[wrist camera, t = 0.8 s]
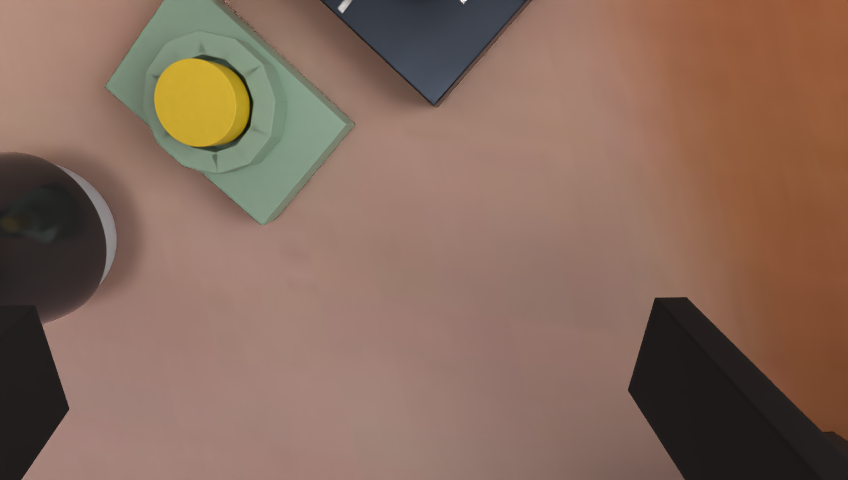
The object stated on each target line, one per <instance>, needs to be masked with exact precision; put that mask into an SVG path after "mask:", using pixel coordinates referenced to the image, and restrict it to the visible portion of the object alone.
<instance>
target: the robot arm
mask: <svg viewBox="0 0 848 480" xmlns="http://www.w3.org/2000/svg"><path fill="white" fill-rule="evenodd" d="M628 391H629V393H630V394H631V396H632V398H633V399H634V401H635V402H636V404H637V405H638V407H639V409H640V410H641V412H642V413H643V415H644V416H645V418H646V419H647V421H648V423H649V424H650V426H651V427H652V429H653V430H654V432H655V434H656V435H657V437H658V438H659V440H660V441H661V443H662V444H663V446H664V448H665V449H666V451H667V452H668V454H669V455H670V457H671V459H672V460H673V462H674V463H675V465H676V466H677V468H678V470H679V471H680V473H681V474H682V476H683V477H684V479H685V480H848V441H846V440H845V439H843V438H842V437H840V436H839V435H837V434H836V433H834V432H822V431H821V430H820V429H819V428H818V427H817V426H816V425H815V424H814V423H813V422H812V421H811V420H809V419H808V418H807V417H806V416H805V415H804V414H803V413H802V412H801V411H800V410H799V409H798V408H797V407H796V406H795V405H794V404H793V403H792V402H791V401H790V400H789V399H788V398H787V397H786V396H785V395H784V394H783V393H782V392H781V391H780V390H779V389H778V388H777V387H776V386H775V385H774V384H773V383H772V382H771V381H770V380H769V379H768V378H767V377H766V376H765V375H764V374H763V373H762V372H761V371H760V370H759V369H758V368H757V367H756V366H755V365H754V364H753V363H752V362H751V361H750V360H749V359H748V358H747V357H746V356H745V355H744V354H743V353H742V352H741V351H740V350H739V349H738V348H737V347H736V346H735V345H734V344H733V343H732V342H731V341H730V340H729V339H728V338H727V337H726V336H725V335H724V334H723V333H722V332H721V331H720V330H719V329H718V328H717V327H716V326H715V325H714V324H713V323H712V322H711V321H710V320H709V319H708V318H707V317H706V316H705V315H704V314H703V313H702V312H701V311H700V310H699V309H698V308H697V307H696V306H695V305H694V304H693V303H692V302H691V301H690V300H689V299H688V298H687V297H676V298H655V300H654V303H653V307H652V310H651V313H650V317H649V320H648V324H647V327H646V330H645V334H644V337H643V341H642V344H641V347H640V351H639V354H638V358H637V361H636V364H635V368H634V371H633V375H632V378H631V381H630V385H629V388H628ZM68 410H69V406H68V403H67V400H66V397H65V394H64V391H63V388H62V385H61V382H60V379H59V376H58V372H57V369H56V366H55V363H54V360H53V357H52V354H51V351H50V348H49V345H48V342H47V339H46V336H45V333H44V330H43V327H42V324H41V321H40V318H39V315H38V312H37V308H36V305H0V480H21V479H22V478H23V476H24V475H25V474H26V472H27V471H28V469H29V468H30V466H31V465H32V463H33V462H34V460H35V459H36V457H37V456H38V454H39V453H40V451H41V450H42V449H43V447H44V446H45V444H46V443H47V441H48V440H49V438H50V437H51V435H52V434H53V432H54V431H55V429H56V428H57V426H58V425H59V424H60V422H61V421H62V419H63V418H64V416H65V415H66V413H67V412H68Z"/></svg>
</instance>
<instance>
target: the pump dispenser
mask: <svg viewBox="0 0 848 480" xmlns="http://www.w3.org/2000/svg"><path fill="white" fill-rule="evenodd" d="M116 246H117V234H116V227H115V223H114V219H113V216H112V214H111V211H110V209H109V207H108V205H107V204H106V202H105V200H104V199H103V198H102V196H101V195H100V194H99V193H98V191H97V190H96V189H95V188H94V187H93V186H92V185H91V184H90V183H88V182H87V181H86V180H85V179H83V178H82V177H80V176H79V175H77V174H76V173H74V172H72V171H70V170H68V169H66V168H64V167H62V166H59V165H56V164H54V163H51V162H49V161H47V160H44V159H42V158H39V157H37V156H33V155H29V154H24V153H17V152H0V305H36V308H37V312H38V315H39V318H40V321H41V324H45V323H48V322H51V321H54V320H56V319H59V318H61V317H63V316H65V315H67V314H70V313H71V312H73V311H75V310H77V309H78V308H80V307H81V306H82V305H83V304H85V303H86V302H87V301H88V300H89V299H90V298H91V296H92V295H93V294H94V292H95V291H96V289H97V288H98V286H99V285H100V284H101V282H102V281H103V280H104V278H105V277H106V275H107V273H108V272H109V270H110V268H111V265H112V263H113V260H114V257H115V252H116Z"/></svg>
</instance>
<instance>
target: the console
mask: <svg viewBox="0 0 848 480" xmlns="http://www.w3.org/2000/svg"><path fill="white" fill-rule="evenodd" d="M321 1H322V2H323V3H324V4H325V5H326V6H327V7H328V8H329V9H330V10H331V11H332V12H334V13H335V14H336V15H337V16H338V17H339V18H340V19H341V20H342V21H343V22H344V23H345V24H346V25H347V26H348V27H350V28H351V29H352V30H353V31H354V32H355V33H356V34H357V35H358V36H359V37H360V38H361V39H362V40H363V41H364V42H366V43H367V44H368V45H369V46H370V47H371V48H372V49H373V50H374V51H375V52H376V53H377V54H378V55H379V56H380V57H382V58H383V59H384V60H385V61H386V62H387V63H388V64H389V65H390V66H391V67H392V68H393V69H394V70H395V71H396V72H398V73H399V74H400V75H401V76H402V77H403V78H404V79H405V80H406V81H407V82H408V83H409V84H410V85H411V86H412V87H414V88H415V89H416V90H417V91H418V92H419V93H420V94H421V95H422V96H423V97H424V98H425V99H426V100H427V101H428V102H430V103H431V104H432V105H433V106H435V107H438V106H439V105H440V104H441V103H442V102H443V100H444V99H445V98H446V97H447V96H448V95H449V94H450V93H451V91H452V90H453V89H454V88H455V87H456V86H457V85H458V83H459V82H460V81H461V80H462V79H463V78H464V77H465V75H466V74H467V73H468V72H469V71H470V70H471V69H472V68H473V66H474V65H475V64H476V63H477V62H478V61H479V60H480V58H481V57H482V56H483V55H484V54H485V53H486V52H487V50H488V49H489V48H490V47H491V46H492V45H493V44H494V42H495V41H496V40H497V39H498V38H499V37H500V36H501V35H502V33H503V32H504V31H505V30H506V29H507V28H508V27H509V25H510V24H511V23H512V22H513V21H514V20H515V19H516V17H517V16H518V15H519V14H520V13H521V12H522V11H523V10H524V8H525V7H526V6H527V5H528V4H529V3H530V2H531V0H321Z"/></svg>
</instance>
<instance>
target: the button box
mask: <svg viewBox="0 0 848 480" xmlns="http://www.w3.org/2000/svg"><path fill="white" fill-rule="evenodd" d="M188 58H195V59H201V60H206V61H210V62H214V63H218V64H221V65H223V66H226V67H227V68H229V69H231V70H232V71H233V72H234V73H235V74H236V75H237V76H238V77H239V78H240V79H241V81H242V82H243V84H244V86H245V88H246V90H247V92H248V96H249V101H250V114H249V119H248V122H247V124H246V127H245V128H244V130H243V131H242V133H241V134H240V135H239V136H238V137H237V138H236V139H234V140H233V141H231V142H229V143H227V144H223V145H217V146H206V147H194V146H189V145H186V144H184V143H181V142H179V141H178V140H176V139H175V138H173V137H172V136H171V135H170V134H169V133H168V132H167V131H166V130H165V128H164V127H163V126H162V124H161V122H160V120H159V118H158V116H157V113H156V109H155V103H154V93H155V88H156V84H157V82H158V79H159V77H160V76H161V74H162V73H163V72H164V70H165V69H166V68H167V67H169V66H170V65H171V64H173V63H175V62H177V61H179V60H182V59H188ZM105 88H106V89H108V90H109V91H110V92H111V93H112V94H113V95H114V96H116V97H117V98H118V99H119V100H120V101H121V102H122V103H123V104H125V105H126V106H127V107H128V108H129V109H130V110H131V111H132V112H134V113H135V114H136V115H137V116H138V117H139V118H140V119H142V120H143V121H144V122H145V123H146V124H147V125H148V126H149V127H150V128H151V130H152V132H153V135H154V137H155V140H156V142H157V144H159V145H160V146H161V147H162V148H163V149H164V150H165V151H167V152H168V153H169V154H170V155H171V156H172V157H173V158H174V159H176V160H177V161H178V162H179V163H180V164H181V165H182V166H185V167H187V168H191V169H196V170H199V171H200V172H202V173H203V174H204V175H205V176H206V177H207V178H208V179H209V180H211V181H212V182H213V183H214V184H215V185H216V186H217V187H219V188H220V189H221V190H222V191H223V192H224V193H225V194H226V195H228V196H229V197H230V198H231V199H232V200H233V201H234V202H235V203H237V204H238V205H239V206H240V207H241V208H242V209H243V210H245V211H246V212H247V213H248V214H249V215H250V216H251V217H252V218H254V219H255V220H256V221H257V222H258V223H259V224H260V225H264V224H267V223H269V222H271V221H273V220H275V219H276V218H277V217H278V216H279V215H280V213H281V212H282V211H283V210H284V209H285V207H286V206H287V205H288V204H289V203H290V202H291V200H292V199H293V198H294V197H295V196H296V194H297V193H298V192H299V191H300V190H301V188H302V187H303V186H304V185H305V184H306V183H307V181H308V180H309V179H310V178H311V177H312V175H313V174H314V173H315V172H316V171H317V169H318V168H319V167H320V166H321V165H322V164H323V162H324V161H325V160H326V159H327V158H328V156H329V155H330V154H331V153H332V152H333V150H334V149H335V148H336V147H337V146H338V145H339V143H340V142H341V141H342V140H343V139H344V137H345V136H346V135H347V134H348V133H349V131H350V130H351V129H352V128H353V127H354V125H355V124H354V123H353V122H352V121H351V120H350V119H349V118H348V117H347V116H346V115H345V114H344V113H343V112H341V111H340V110H339V109H338V108H337V107H336V106H335V105H334V104H333V103H332V102H331V101H329V100H328V99H327V98H326V97H325V96H324V95H323V94H322V93H321V92H320V91H319V90H317V89H316V88H315V87H314V86H313V85H312V84H311V83H310V82H309V81H308V80H307V79H306V78H304V77H303V76H302V75H301V74H300V73H299V72H298V71H297V70H296V69H295V68H294V67H292V66H291V65H290V64H289V63H288V62H287V61H286V60H285V59H284V58H283V57H282V56H281V55H279V54H278V53H277V52H276V51H275V50H274V49H273V48H272V47H271V46H270V45H269V44H267V43H266V42H265V41H264V40H263V39H262V38H261V37H260V36H259V35H258V34H257V33H256V32H254V31H253V30H252V29H251V28H250V27H249V26H248V25H247V24H246V23H245V22H244V21H242V20H241V19H240V18H239V17H238V16H237V15H236V14H235V13H234V12H233V11H232V10H230V9H229V8H228V7H227V6H226V5H225V4H224V3H223V2H222V1H221V0H164V1H163V2H162V4H161V5H160V7H159V8H158V9H157V11H156V12H155V14H154V15H153V17H152V18H151V20H150V21H149V23H148V24H147V25H146V27H145V28H144V30H143V31H142V33H141V34H140V36H139V37H138V39H137V40H136V42H135V43H134V44H133V46H132V47H131V49H130V50H129V52H128V53H127V55H126V56H125V58H124V59H123V61H122V62H121V63H120V65H119V66H118V68H117V69H116V71H115V72H114V74H113V75H112V77H111V78H110V79H109V81H108V82H107V84H106V85H105Z"/></svg>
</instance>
